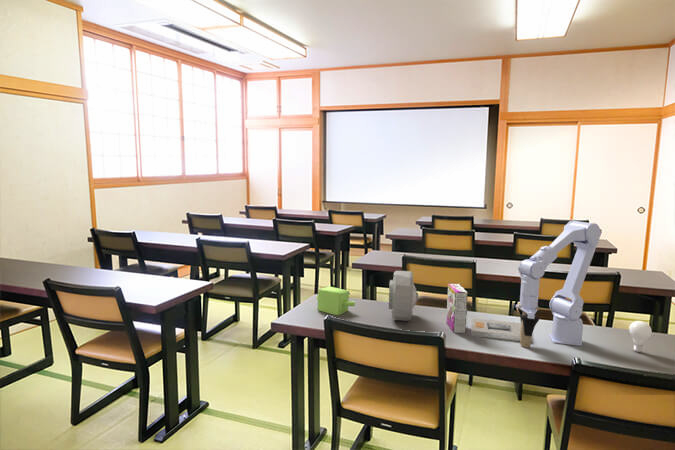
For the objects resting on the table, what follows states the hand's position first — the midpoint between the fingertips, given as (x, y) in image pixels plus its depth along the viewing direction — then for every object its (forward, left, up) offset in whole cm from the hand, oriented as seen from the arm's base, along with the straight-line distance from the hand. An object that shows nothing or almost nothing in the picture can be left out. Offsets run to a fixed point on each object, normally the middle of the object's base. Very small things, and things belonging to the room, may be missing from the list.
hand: (526, 331), depth 152 cm
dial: (+45, -14, -6) cm, 47 cm away
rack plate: (+8, -11, -5) cm, 15 cm away
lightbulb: (-37, -7, -6) cm, 38 cm away
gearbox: (+74, -15, -6) cm, 76 cm away
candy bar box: (+24, -10, -6) cm, 27 cm away
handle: (0, 0, -6) cm, 6 cm away
